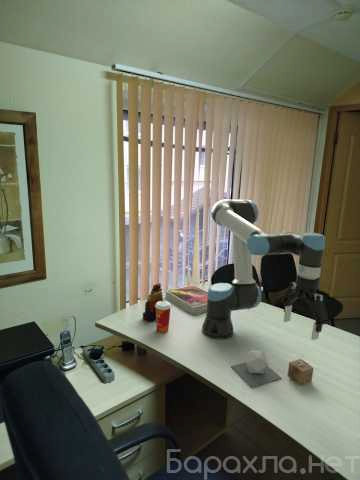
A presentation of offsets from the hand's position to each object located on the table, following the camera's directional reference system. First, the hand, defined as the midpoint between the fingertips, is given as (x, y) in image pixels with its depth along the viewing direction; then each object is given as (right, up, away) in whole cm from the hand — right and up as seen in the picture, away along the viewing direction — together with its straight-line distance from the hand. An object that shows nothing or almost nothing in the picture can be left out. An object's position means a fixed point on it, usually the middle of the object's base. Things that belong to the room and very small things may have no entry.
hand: (299, 329), depth 111 cm
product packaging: (-37, -5, +68) cm, 78 cm away
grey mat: (-16, -18, +4) cm, 24 cm away
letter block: (0, -19, +1) cm, 19 cm away
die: (-16, -17, +4) cm, 24 cm away
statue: (-60, -8, +45) cm, 76 cm away
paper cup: (-54, -11, +33) cm, 64 cm away
